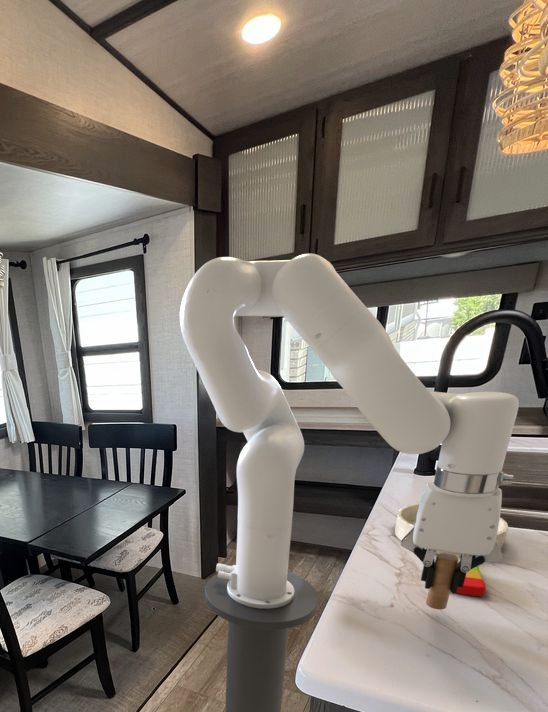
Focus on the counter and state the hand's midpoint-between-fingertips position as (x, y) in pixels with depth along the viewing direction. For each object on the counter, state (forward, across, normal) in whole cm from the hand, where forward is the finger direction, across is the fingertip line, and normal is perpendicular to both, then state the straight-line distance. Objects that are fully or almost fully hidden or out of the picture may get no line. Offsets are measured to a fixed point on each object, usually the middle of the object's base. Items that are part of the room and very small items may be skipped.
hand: (440, 586), depth 76 cm
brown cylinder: (+4, 0, 0) cm, 4 cm away
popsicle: (+5, -4, -16) cm, 17 cm away
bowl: (+5, -2, -34) cm, 34 cm away
